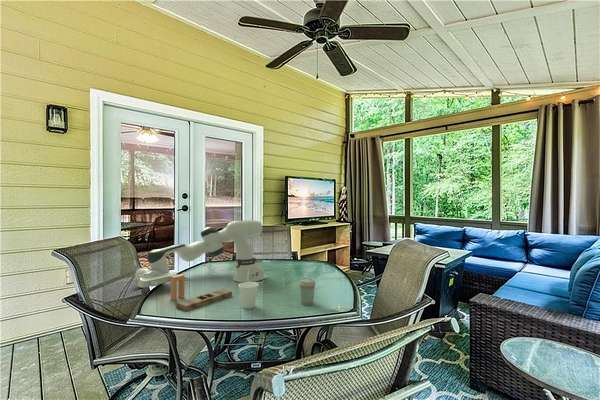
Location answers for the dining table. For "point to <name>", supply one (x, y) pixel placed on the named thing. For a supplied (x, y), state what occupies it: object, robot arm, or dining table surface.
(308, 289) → the coffee cup
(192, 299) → the rail
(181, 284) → the clip
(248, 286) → the cup
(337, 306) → the dining table surface
